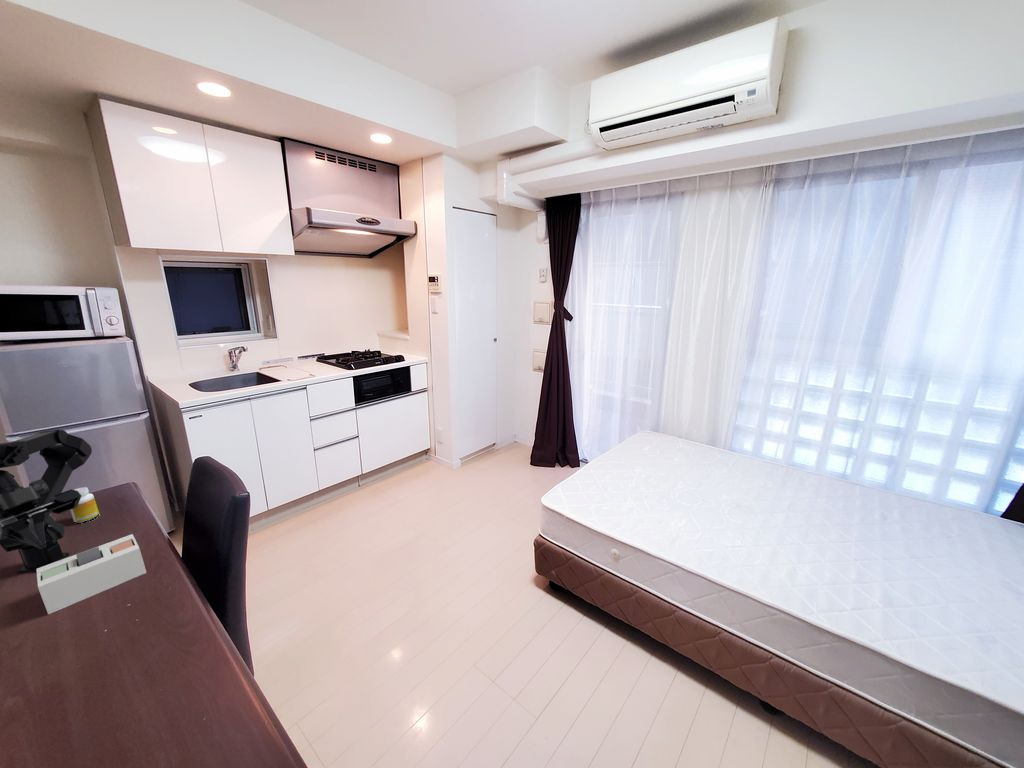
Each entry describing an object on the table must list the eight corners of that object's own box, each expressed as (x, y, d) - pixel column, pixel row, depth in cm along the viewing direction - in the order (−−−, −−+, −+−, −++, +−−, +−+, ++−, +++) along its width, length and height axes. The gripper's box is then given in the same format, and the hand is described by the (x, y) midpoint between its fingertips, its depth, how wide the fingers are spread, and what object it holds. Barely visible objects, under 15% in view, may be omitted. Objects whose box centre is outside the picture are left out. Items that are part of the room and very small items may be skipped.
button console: (46, 594, 90) (36, 568, 89) (139, 557, 102) (132, 534, 101) (48, 614, 85) (38, 587, 83) (146, 572, 97) (139, 548, 95)
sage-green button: (45, 582, 88) (42, 573, 88) (69, 573, 91) (65, 564, 90) (46, 589, 86) (42, 580, 85) (70, 580, 89) (67, 571, 88)
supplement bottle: (104, 515, 122) (95, 486, 119) (82, 525, 117) (72, 496, 114) (92, 513, 123) (83, 485, 121) (69, 523, 118) (59, 493, 116)
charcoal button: (79, 563, 92) (76, 554, 91) (100, 555, 95) (98, 546, 94) (80, 570, 90) (77, 561, 89) (103, 561, 92) (100, 552, 92)
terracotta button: (113, 555, 96) (110, 547, 96) (133, 548, 99) (130, 540, 98) (115, 562, 94) (113, 553, 94) (136, 554, 97) (133, 545, 96)
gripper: (-65, 496, 78) (-18, 557, 77) (65, 458, 95) (105, 507, 94) (-68, 524, 82) (-24, 581, 81) (57, 482, 99) (94, 529, 98)
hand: (43, 546), depth 88 cm, fingers closed
